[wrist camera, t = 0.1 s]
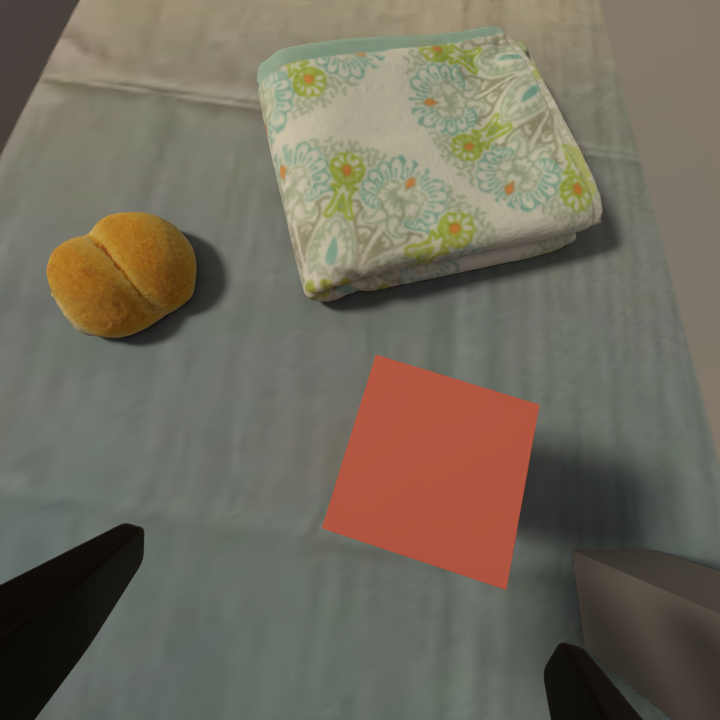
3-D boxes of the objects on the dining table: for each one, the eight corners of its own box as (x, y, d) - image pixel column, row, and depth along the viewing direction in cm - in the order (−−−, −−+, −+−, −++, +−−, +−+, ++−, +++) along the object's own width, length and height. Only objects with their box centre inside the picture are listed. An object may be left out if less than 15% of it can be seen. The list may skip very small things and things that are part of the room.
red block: (416, 511, 22) (506, 589, 9) (338, 485, 22) (321, 528, 9) (436, 431, 23) (539, 404, 10) (361, 408, 23) (375, 354, 11)
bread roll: (223, 285, 25) (201, 255, 22) (110, 361, 24) (64, 344, 20) (161, 207, 27) (130, 165, 23) (51, 274, 25) (-3, 241, 21)
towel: (582, 251, 27) (634, 206, 22) (308, 312, 25) (298, 277, 20) (501, 73, 32) (529, 3, 27) (262, 113, 30) (245, 45, 25)
